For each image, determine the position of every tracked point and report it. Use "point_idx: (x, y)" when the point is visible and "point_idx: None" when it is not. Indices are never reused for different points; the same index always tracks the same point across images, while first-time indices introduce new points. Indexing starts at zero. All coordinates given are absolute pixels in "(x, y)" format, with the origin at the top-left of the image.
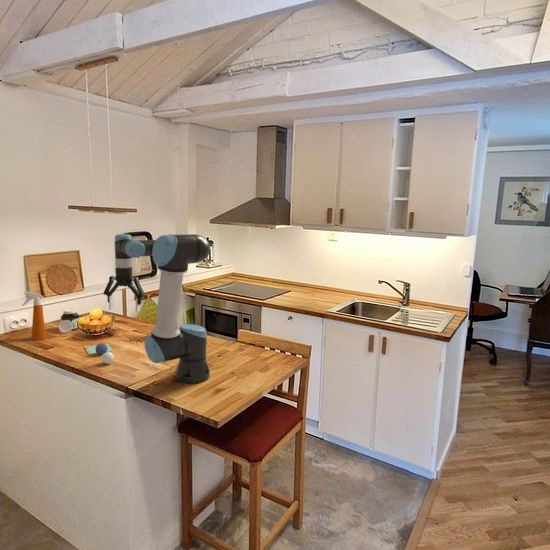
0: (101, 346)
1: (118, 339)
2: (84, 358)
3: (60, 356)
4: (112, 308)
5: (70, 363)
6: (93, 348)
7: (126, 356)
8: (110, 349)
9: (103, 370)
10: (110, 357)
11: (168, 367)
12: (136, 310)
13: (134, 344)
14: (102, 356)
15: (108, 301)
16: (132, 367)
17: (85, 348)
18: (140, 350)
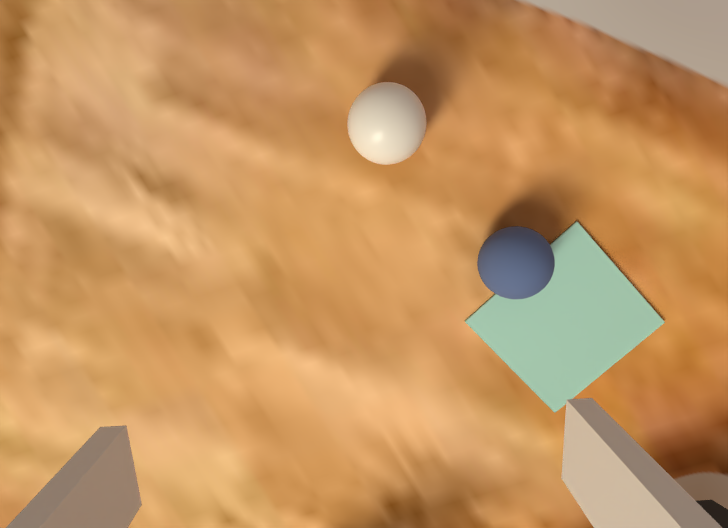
0: (510, 245)
1: (534, 493)
2: (564, 162)
3: (720, 148)
4: (567, 454)
5: (601, 60)
6: (596, 318)
7: (343, 265)
8: (490, 333)
9: (348, 16)
10: (355, 102)
11: (11, 179)
12: (102, 438)
13: (404, 449)
14: (410, 92)
15: (717, 519)
16: (211, 114)
17: (641, 304)
18: (319, 375)
